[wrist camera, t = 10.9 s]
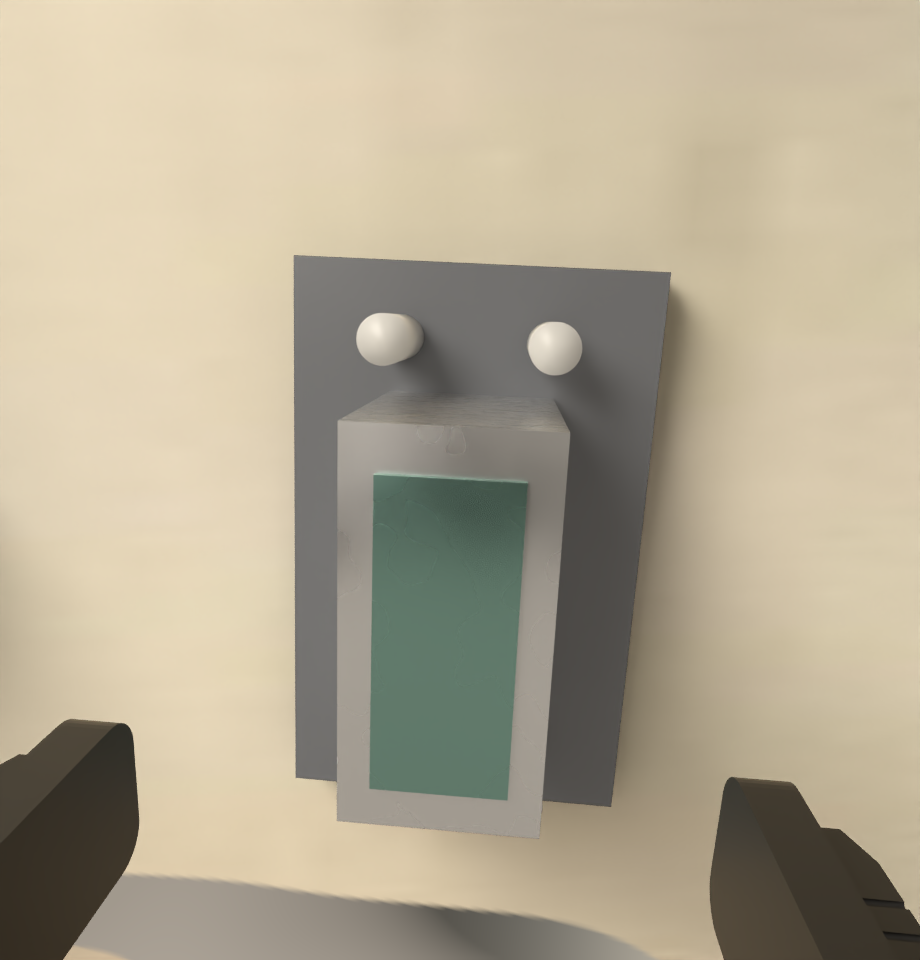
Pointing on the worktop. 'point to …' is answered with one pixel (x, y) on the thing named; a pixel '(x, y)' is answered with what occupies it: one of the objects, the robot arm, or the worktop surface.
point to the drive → (447, 609)
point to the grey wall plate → (491, 372)
